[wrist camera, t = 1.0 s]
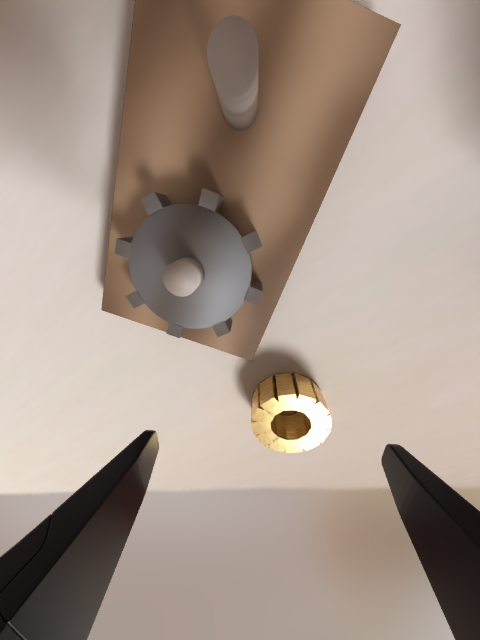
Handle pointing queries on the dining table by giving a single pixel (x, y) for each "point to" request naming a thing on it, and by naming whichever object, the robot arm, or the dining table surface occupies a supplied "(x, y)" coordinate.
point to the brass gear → (289, 428)
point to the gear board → (230, 155)
